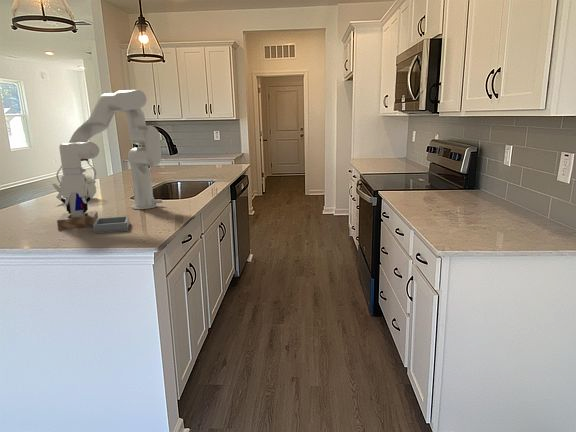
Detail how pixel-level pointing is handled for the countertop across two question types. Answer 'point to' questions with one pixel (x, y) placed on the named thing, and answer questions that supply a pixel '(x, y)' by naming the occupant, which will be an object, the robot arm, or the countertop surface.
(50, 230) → the countertop surface
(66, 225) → the socket block
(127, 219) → the tray
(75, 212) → the beverage can
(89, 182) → the kettle
